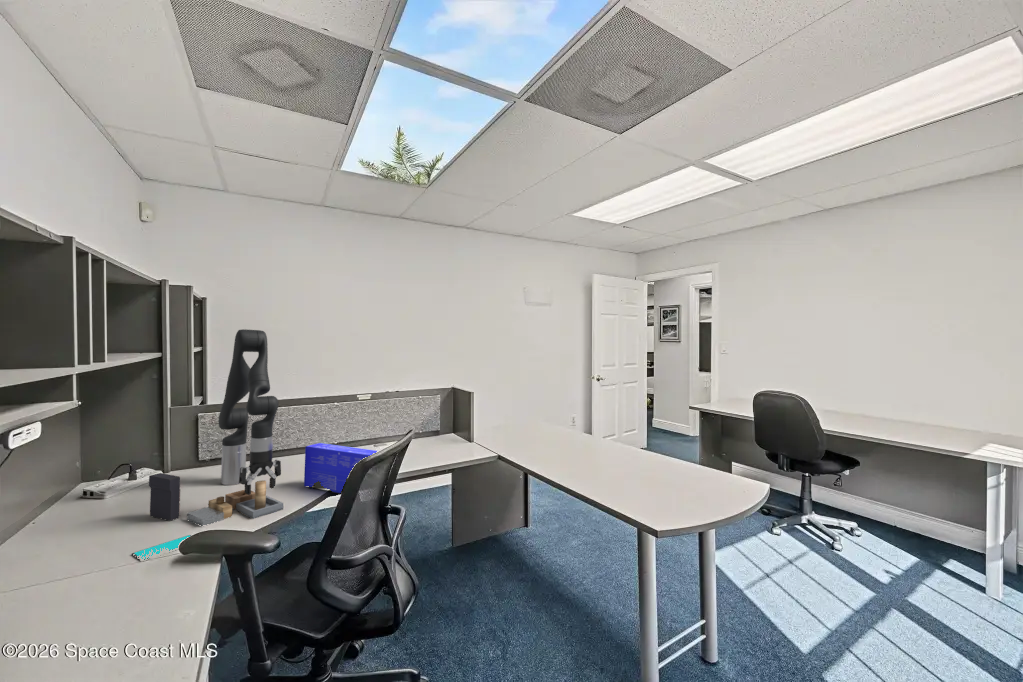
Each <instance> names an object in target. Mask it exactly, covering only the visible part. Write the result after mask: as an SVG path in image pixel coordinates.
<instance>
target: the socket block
mask: <svg viewBox="0 0 1023 682" xmlns="http://www.w3.org/2000/svg"><path fill="white" fill-rule="evenodd" d="M251 499H255V491H253V490H251V494H250V495H247V494H246V493H245V489H240V490H238V491H234V492H229V493H226V494H225V496H224V502H226V503H228V504H230V505H232V510H236V504H237V503H240V502H244V501H248V500H251Z"/></svg>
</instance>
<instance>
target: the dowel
mask: <svg viewBox="0 0 1023 682" xmlns="http://www.w3.org/2000/svg"><path fill="white" fill-rule="evenodd" d="M254 492H255V510H258V509H261V508H265V507H266V496H267V480H263V479H262V480H258V481H255V483H254Z"/></svg>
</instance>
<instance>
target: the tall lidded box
mask: <svg viewBox="0 0 1023 682" xmlns="http://www.w3.org/2000/svg"><path fill="white" fill-rule="evenodd" d="M148 487H150V497H149V499H150V501H149V516H150V517H151V516H153V517H152V518H155V517H157V519H159V518H162V519H161V520H164V519H166V520H165V521H168V520H171V521H173V519H174V520H177V519H179V517H180V516H181V515H180V514H181V513H180V512H181V503H180V501H181V477H180V476H178V475H172V474H169V473H168V474H167V473H162V472H158V473H155V474H151V475H149V477H148ZM176 518H177V519H176Z"/></svg>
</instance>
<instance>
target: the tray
mask: <svg viewBox="0 0 1023 682" xmlns="http://www.w3.org/2000/svg"><path fill="white" fill-rule="evenodd" d="M236 510H237V512H238V511H239V513H240V512H241V514H242V513H243V514H242V515H244V514H245V516H246V515H247V516H246V517H249V518H251V519H253V520H254V519H256V518H257V519H258V518H261V517H263V516H267V515H270V514H274V513H276V512H280V511H283V510H284V502H282V501H280V500H277V499H275V498H273V497H270V496H268V495H266V507H265V508H261V509H258V510H255V499H251V500H248V501H244V502H240V503H237V504H236V509H235V511H236Z"/></svg>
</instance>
